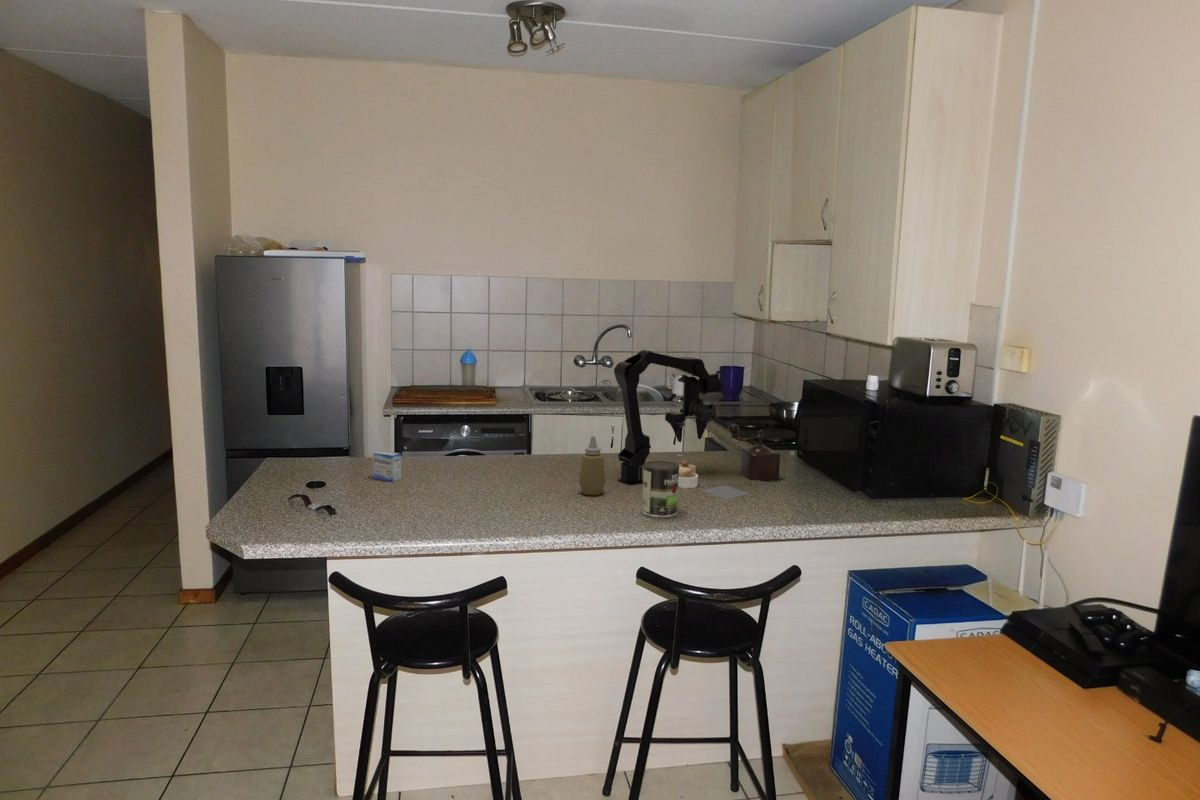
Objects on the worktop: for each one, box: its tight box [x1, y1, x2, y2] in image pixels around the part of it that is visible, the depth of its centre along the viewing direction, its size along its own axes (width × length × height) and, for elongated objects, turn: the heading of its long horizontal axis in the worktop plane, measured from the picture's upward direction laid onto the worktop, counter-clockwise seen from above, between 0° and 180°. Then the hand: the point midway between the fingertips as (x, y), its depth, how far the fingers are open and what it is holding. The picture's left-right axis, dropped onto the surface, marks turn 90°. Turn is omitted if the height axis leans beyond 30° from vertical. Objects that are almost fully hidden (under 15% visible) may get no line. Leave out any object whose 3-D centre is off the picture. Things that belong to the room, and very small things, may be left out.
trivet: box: [699, 485, 751, 500], centre depth 250 cm, size 11×11×1 cm
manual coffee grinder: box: [727, 423, 781, 482], centre depth 269 cm, size 16×11×18 cm
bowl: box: [678, 473, 699, 489], centre depth 257 cm, size 8×8×4 cm
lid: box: [677, 459, 697, 478], centre depth 256 cm, size 7×7×5 cm
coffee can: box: [641, 460, 679, 519], centre depth 228 cm, size 10×10×14 cm
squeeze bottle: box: [578, 435, 606, 496], centre depth 245 cm, size 8×8×18 cm
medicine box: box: [372, 450, 402, 482], centre depth 257 cm, size 8×4×9 cm, turn 68°
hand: (689, 440), depth 269 cm, fingers open, 9 cm apart
